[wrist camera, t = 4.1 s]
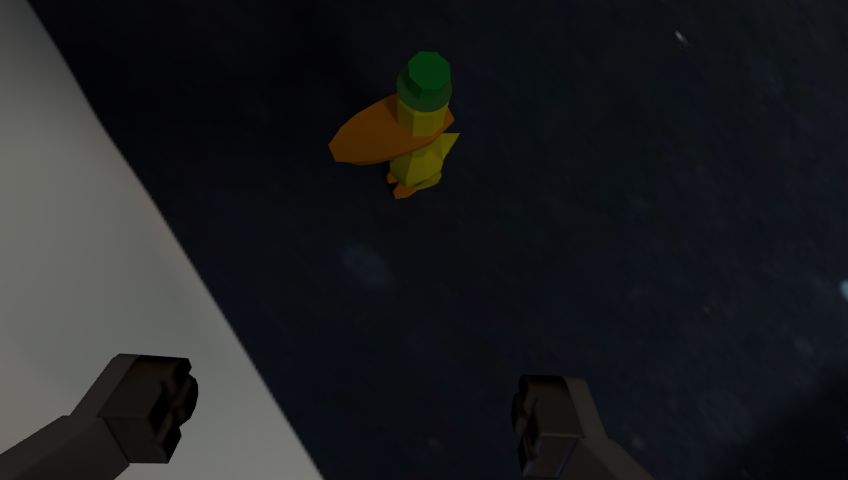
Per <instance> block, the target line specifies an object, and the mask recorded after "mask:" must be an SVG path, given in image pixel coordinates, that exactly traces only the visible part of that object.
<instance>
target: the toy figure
mask: <svg viewBox="0 0 848 480" xmlns="http://www.w3.org/2000/svg"><path fill="white" fill-rule="evenodd" d="M450 79H451V78H450V66H449V63H448V62H447V61H446V60H445V59H443V58H442V57H441V56H440V55H439V54H438V53H437V52H419V53H418V54H417V55H416V56H414V57H413V58H412V59H411V60H410V61H409V65H407V66H406V67H404V68H403V69H402V71H401V72H400V73H399V76H398V78H397V93H396V94H394V95H391V96H389V97H387V98H384V99H382V100H381V101H379V102H377V103H375V104H374V105H372V106H370V107H368V108H366V109H365V110H363V111H361V112H359V113H357V114H356V115H355V116H354V117H353V118H351V119H350V120H349V121H348V122H347V123H346V124H344V125H343V126H342V127H341V128H340V130H339V131H338V133H337V134H336V136H335V137H334V138H333V140H332V141H331V143H330V144H329V147H330V149H331V152H332V154H333V156H334V158H335V160H336V162H350V163H353V164H356V165H366V164H374V163H380V162H384V161H387V160H390V172H389V173H388V174H387V175H386V176H385V177H386V179H387V181H388V183H389V184H395V183H399V184H398V185H397V187H396V188H395V189H394V190H393V191H392V193H393V195H394V197H395V198H396V199H398V198H406V197H408V196H410V195H411V194H413V193H414V192H415V191H417V190H419V189H423V188H427V187H430V186H432V185H435V184H437V183H438V182H439V180H440V178H441V173H440V171H441V168H442V164H443V159H444V158H445V156H446V155H447V153H448V151H449V150H450V148H451V147H452V145H453V144H454V142H455V140H456V139H457V137H458V136H459V134H460V133H452V134H441V133H442V132H443V131H444V130H445V129H446V128H447V127H448V126H449V125H450V124H451V123H452V122H453V121H454V118H453V116H452V114H451V112H450V110H449V108H448V102H449V100H450V97H451V94H452V84H451V81H450Z"/></svg>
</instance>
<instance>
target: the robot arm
mask: <svg viewBox="0 0 848 480" xmlns="http://www.w3.org/2000/svg"><path fill="white" fill-rule="evenodd" d="M191 368H192V366H191V364H190V362H189V359H188V358H177V357H164V356H150V355H136V354H118V355H117V356H116V357H114V358H113V359H112V360H111V361H110V362H109V364H108V365H107V366H106V368H105V369H104V370H103V372H102V373H101V374H100V376H99V377H98V378H97V380H96V381H95V383H94V384H93V385H92V386H91V388H90V389H89V390H88V392H87V393H86V394H85V396H84V397H83V398H82V400H81V401H80V402H79V404H78V405H77V406H76V408H75V409H74V411H73V412H72V413H71V415H70V416H61V417H60V418H58V419H56V420H55V421H54V422H52V423H50V424H48V425H47V426H45V427H44V428H42V429H40V430H39V431H37V432H36V433H34V434H33V435H31V436H29V437H28V438H26V439H24V440H23V441H21V442H20V443H18V444H16V445H15V446H13V447H12V448H10V449H8V450H7V451H5V452H4V453H2V454H0V480H114V479H115V478H116V477H117V476H119V475H120V474H121V473H122V472H123V471H124V470H125V469H126V468H127V467H128V466H129V465H130V464H129V463H165V464H168V463H169V461H170V459H171V457H172V455H173V453H174V451H175V449H176V446H177V444H178V442H179V440H180V438H181V436H182V435H181V432H180V429H179V427H180V426H181V425H182V424H183V423H185V422H186V421H187V420H189V419H190V418H191V415H192V413H193V411H194V409H195V407H196V402H197V398H198V384H197V381H196V379H195V378H194V377H192V376H191V375H190V374H189V372H190V370H191ZM518 385H519V390H520V391H519V392H518V393H516V394H515V395H514V398H513V401H512V411H511V416H512V425H513V431H514V433H515V435H516V436H517V437H518V438H519V439H520V440H521V441H520V443H519V446H518V449H517V452H518V457H519V462H520V467H521V473H522V477H529V478H544V479H557V480H655V479H654V478H653V477H652V476H651V475H650V474H649V473H648V472H647V471H646V470H645V469H644V468H643V467H642V466H641V465H640V464H639V463H638V462H637V461H636V460H635V459H634V458H633V457H631V456H630V455H629V454H628V453H627V452H626V451H625V450H624V449H623V448H622V447H621V446H620V445H619V444H618V443H617V442H616V441H615V440H613V439H608V438H607V435H606V433H605V430H604V427H603V425H602V422H601V420H600V417H599V414H598V412H597V409H596V407H595V404H594V401H593V399H592V396H591V394H590V391H589V388H588V386H587V383H586V381H585V380H584V379H583V378H581V377H561V376H548V375H522V376H521V377H520V380H519V383H518Z"/></svg>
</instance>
